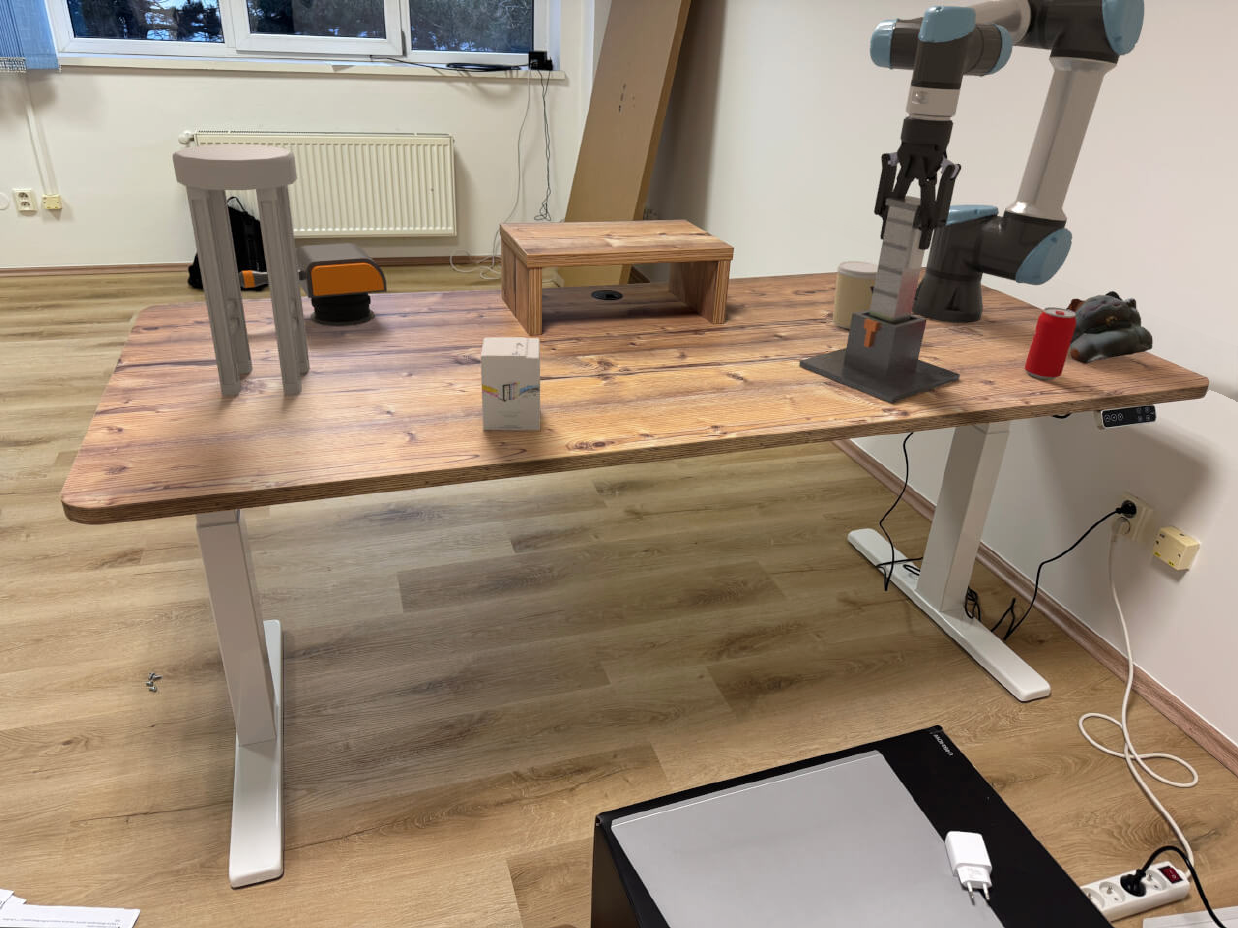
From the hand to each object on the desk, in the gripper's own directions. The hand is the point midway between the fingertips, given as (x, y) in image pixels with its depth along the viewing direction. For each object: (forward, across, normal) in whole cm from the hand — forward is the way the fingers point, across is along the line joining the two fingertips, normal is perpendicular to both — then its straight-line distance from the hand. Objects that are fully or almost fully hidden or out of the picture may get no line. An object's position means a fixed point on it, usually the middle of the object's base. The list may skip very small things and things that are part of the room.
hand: (900, 263), depth 147 cm
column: (+11, 0, 0) cm, 11 cm away
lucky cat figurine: (+20, +18, +46) cm, 53 cm away
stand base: (+20, 0, 0) cm, 20 cm away
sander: (+20, -77, -73) cm, 108 cm away
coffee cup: (+20, -21, +19) cm, 35 cm away
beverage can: (+20, +17, +26) cm, 37 cm away
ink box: (+20, -18, -66) cm, 71 cm away
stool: (+20, -51, -91) cm, 106 cm away
